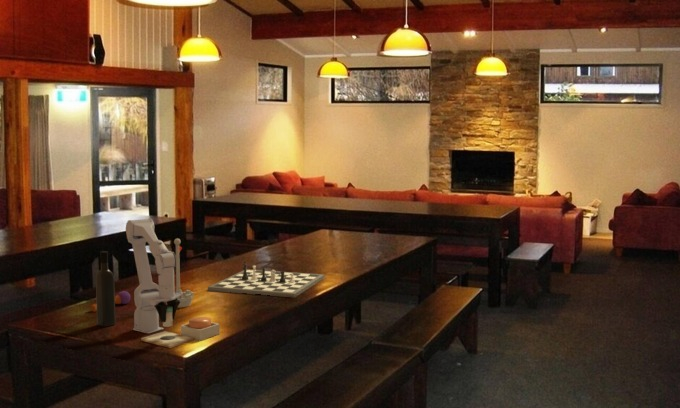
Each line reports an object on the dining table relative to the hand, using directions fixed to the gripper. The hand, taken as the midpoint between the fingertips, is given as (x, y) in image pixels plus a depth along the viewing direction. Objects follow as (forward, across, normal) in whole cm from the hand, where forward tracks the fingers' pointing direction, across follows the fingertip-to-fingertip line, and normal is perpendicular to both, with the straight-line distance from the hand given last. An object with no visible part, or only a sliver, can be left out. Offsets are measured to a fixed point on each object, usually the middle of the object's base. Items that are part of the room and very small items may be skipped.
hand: (167, 320), depth 277 cm
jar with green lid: (+2, 0, 0) cm, 2 cm away
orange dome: (+5, +12, -5) cm, 14 cm away
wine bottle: (+8, 0, +36) cm, 37 cm away
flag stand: (+8, +40, +37) cm, 55 cm away
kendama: (+8, +20, +58) cm, 62 cm away
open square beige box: (+8, +12, -5) cm, 15 cm away
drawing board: (+8, 0, 0) cm, 8 cm away
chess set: (+8, +95, +31) cm, 100 cm away
